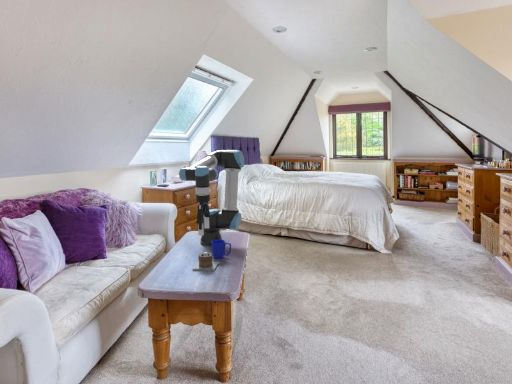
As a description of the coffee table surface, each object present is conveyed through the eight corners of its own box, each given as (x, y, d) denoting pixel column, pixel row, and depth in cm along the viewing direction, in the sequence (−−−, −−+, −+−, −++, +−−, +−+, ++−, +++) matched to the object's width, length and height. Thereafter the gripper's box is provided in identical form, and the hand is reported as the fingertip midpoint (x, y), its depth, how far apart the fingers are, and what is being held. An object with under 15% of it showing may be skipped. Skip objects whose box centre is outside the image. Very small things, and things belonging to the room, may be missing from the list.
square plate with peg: (198, 262, 190) (198, 249, 188) (218, 263, 188) (218, 249, 187) (192, 270, 178) (192, 256, 177) (214, 271, 176) (213, 257, 175)
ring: (201, 262, 187) (201, 252, 186) (213, 263, 186) (213, 252, 185) (197, 267, 180) (197, 256, 179) (210, 267, 179) (210, 257, 178)
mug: (229, 260, 193) (229, 244, 191) (209, 259, 195) (209, 243, 194) (232, 255, 201) (232, 240, 199) (214, 254, 203) (213, 239, 202)
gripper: (201, 190, 193) (202, 225, 196) (189, 198, 168) (191, 238, 172) (214, 190, 192) (215, 225, 196) (203, 198, 168) (205, 238, 171)
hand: (204, 231), depth 184 cm, fingers open, 13 cm apart
